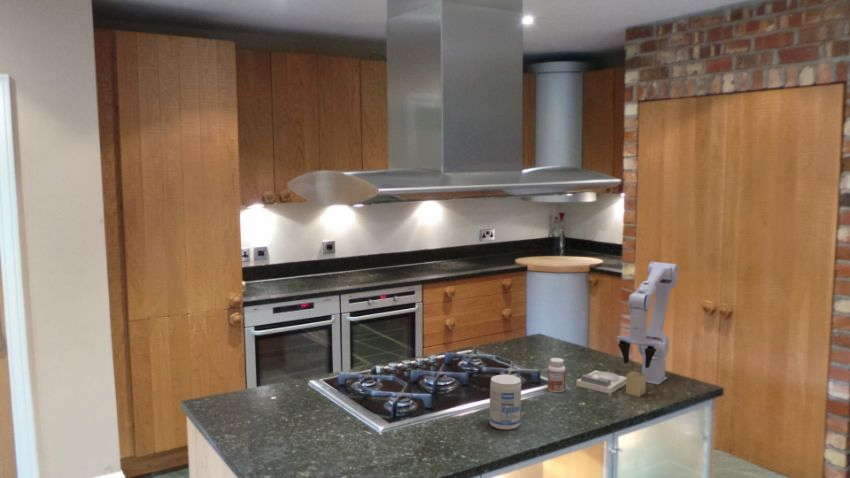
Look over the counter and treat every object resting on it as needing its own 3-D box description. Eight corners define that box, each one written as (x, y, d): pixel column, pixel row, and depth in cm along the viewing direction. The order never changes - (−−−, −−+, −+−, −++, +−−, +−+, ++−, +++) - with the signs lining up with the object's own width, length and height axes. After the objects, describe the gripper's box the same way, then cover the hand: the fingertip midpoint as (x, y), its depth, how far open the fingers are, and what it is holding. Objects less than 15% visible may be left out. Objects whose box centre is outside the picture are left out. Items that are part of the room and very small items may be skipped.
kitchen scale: (595, 375, 265) (595, 362, 265) (627, 382, 257) (628, 369, 256) (576, 385, 254) (576, 371, 253) (610, 393, 246) (610, 379, 245)
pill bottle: (555, 385, 254) (556, 356, 252) (568, 390, 249) (569, 360, 248) (543, 389, 250) (544, 359, 248) (557, 394, 245) (558, 363, 244)
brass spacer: (631, 389, 250) (632, 370, 249) (645, 393, 247) (646, 373, 246) (625, 393, 246) (626, 374, 245) (639, 396, 243) (640, 377, 242)
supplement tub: (503, 433, 212) (504, 386, 210) (482, 423, 219) (483, 378, 217) (526, 425, 218) (527, 380, 216) (505, 416, 225) (506, 372, 223)
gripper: (613, 325, 245) (612, 363, 247) (654, 333, 236) (652, 372, 238) (622, 321, 250) (620, 358, 252) (662, 328, 241) (660, 367, 243)
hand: (636, 365), depth 245 cm, fingers open, 7 cm apart
